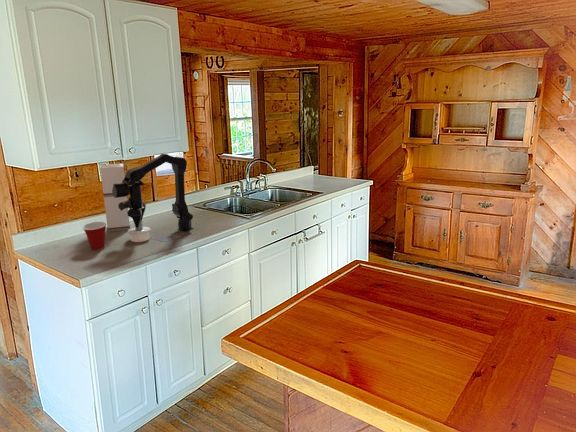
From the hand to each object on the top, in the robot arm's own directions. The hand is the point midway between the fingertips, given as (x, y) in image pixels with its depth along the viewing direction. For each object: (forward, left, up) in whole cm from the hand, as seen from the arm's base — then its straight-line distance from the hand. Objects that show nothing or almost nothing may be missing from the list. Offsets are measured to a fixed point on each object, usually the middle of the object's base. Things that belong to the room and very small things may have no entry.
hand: (138, 225), depth 224 cm
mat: (-9, +9, -8) cm, 15 cm away
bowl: (0, 0, -8) cm, 8 cm away
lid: (0, 0, -3) cm, 3 cm away
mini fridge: (-7, -28, -8) cm, 30 cm away
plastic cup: (+20, -6, -8) cm, 22 cm away
